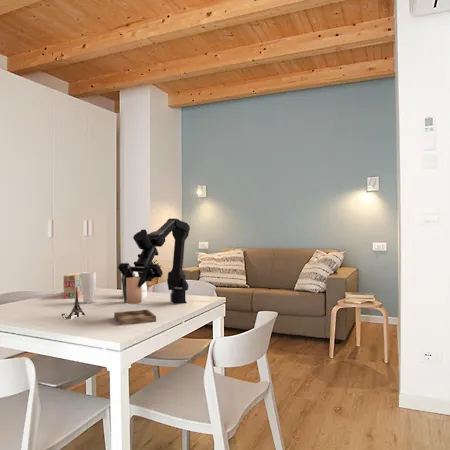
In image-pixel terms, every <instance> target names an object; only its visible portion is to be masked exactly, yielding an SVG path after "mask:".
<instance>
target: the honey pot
mask: <svg viewBox="0 0 450 450" xmlns="http://www.w3.org/2000/svg"><path fill="white" fill-rule="evenodd" d="M133 273H134V274H135V277H139V275H138V272H133ZM147 287H148V286H147V284H146V282H145V283H144V284H143V285H142V299H144V298H147V297H148V296H147V295H148V292H147V291H148V290H147V289H148V288H147ZM121 289H122V294H121V295H122V298H123V299H124V297H123V286H122V288H121Z"/></svg>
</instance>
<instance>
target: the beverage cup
mask: <svg viewBox="0 0 450 450" xmlns="http://www.w3.org/2000/svg"><path fill="white" fill-rule="evenodd" d="M125 263H128V262H127V261H125ZM132 275H133V276H134V277H135V274H134V273H132ZM120 280H121V285H122V287H123V290H122V291H123V297H124V298H123V297H122V298H123V303H124V304H127V303H126V287H125V285H124V284H125V276H124V275H121V278H120Z"/></svg>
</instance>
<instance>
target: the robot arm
mask: <svg viewBox="0 0 450 450" xmlns="http://www.w3.org/2000/svg"><path fill="white" fill-rule="evenodd" d="M190 229H191V228H190V225H189V224H188V223H187V222H185V221H183V220H180V219H179V218H168V219H167V220H166V222H165V223H164V224H163V225H161V226H160V227H159V228H158V229H157V230H155V231H151V232H150V233H148V232H147V229H141V230H140V231H138V232H136V233H135V234H134V235H133V237H132V238H133V240H134V242H135V244H136V246H137V247H138V248H139V250H141V252H140V253H139V254H137V260H136V261H134V262H133V265H130V264H129V262H127V263H126V262H121V263H119V265H118V266H117V269H118V270H119V272H120V273H121V274H122V275H124V276H125V284H124V285H125V287H126V278H127V277H134V276H133V275H132V273H133V272H138V275H139V277H141V278H140V280H139V284H138V287H141V286H142V285H143V284H144V283H145V284H146V282H152V281H153V280H154V279H155V278H162V276H163V270H162V268H161V267H160V265H159V264H158V263H154V258H155V256H159V251H158V249H157V247H159V248H162V247H163V245H164V243H166V238H167V237H168V235H170V234H172V237H173V238H174V247H173V257H172V268H171V270H170V271H168V272H167V279H166V280H167V283H166V284H167V289H168V291H171V292H170V299H169V300H170V303H171V304H175V305H176V304H186V303H188V302H187V301H186V291H188V290H189V284H188V282H187V280H186V274H185V271H184V270H183V268H184V267H183V266H184V255H185V243H186V240H187V238H188V237H189V233H190ZM171 232H172V233H171ZM122 275H121V276H122Z"/></svg>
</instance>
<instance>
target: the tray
mask: <svg viewBox="0 0 450 450" xmlns="http://www.w3.org/2000/svg"><path fill="white" fill-rule="evenodd" d="M113 318H114V320H115V321H116V322H117V324H118V325H119V326H123V325H124V326H125V325H135V324H145V323H152V322H153V323H154V322H155V323H156V322H157V316H156V315H155V314H154V313H153V312H151V311H150V310H149V309H140V310H137V309H136V310H127V311H117V312H113Z"/></svg>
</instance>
